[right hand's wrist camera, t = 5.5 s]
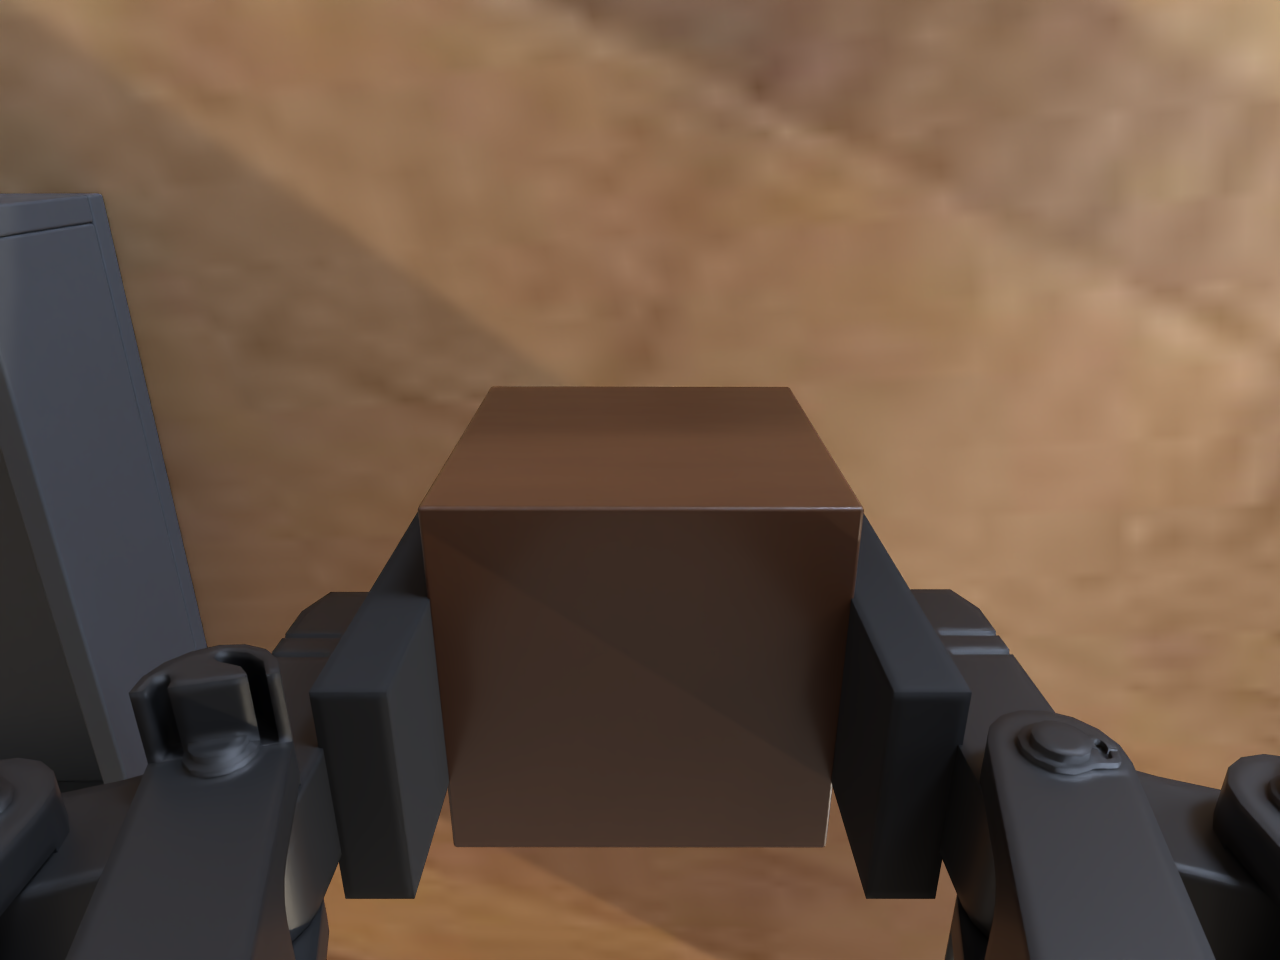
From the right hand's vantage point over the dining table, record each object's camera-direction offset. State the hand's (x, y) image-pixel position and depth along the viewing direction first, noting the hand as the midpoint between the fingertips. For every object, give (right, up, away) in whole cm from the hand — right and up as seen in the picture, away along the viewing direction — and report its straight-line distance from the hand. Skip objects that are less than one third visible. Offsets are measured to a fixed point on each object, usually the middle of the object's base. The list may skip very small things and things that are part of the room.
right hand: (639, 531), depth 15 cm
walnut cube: (0, 0, 0) cm, 0 cm away
